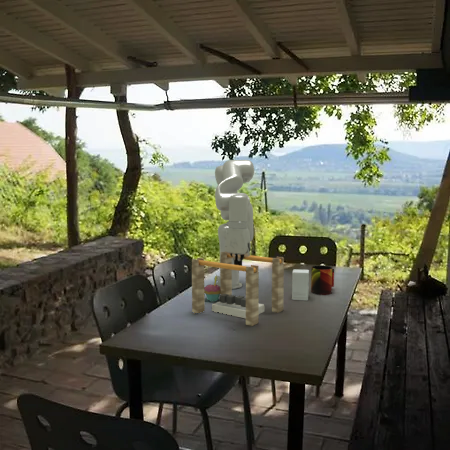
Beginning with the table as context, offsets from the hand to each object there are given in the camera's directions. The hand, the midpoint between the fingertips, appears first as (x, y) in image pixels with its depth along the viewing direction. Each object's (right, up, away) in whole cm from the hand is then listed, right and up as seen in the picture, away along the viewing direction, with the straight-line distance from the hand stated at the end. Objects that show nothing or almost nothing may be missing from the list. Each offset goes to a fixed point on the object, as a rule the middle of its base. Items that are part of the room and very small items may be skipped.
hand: (238, 269), depth 202 cm
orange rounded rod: (-6, +2, -9) cm, 11 cm away
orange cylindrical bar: (+6, +4, +8) cm, 10 cm away
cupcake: (-11, -16, +19) cm, 27 cm away
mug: (+41, -14, +34) cm, 55 cm away
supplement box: (+29, -15, +22) cm, 39 cm away
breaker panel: (0, -18, +2) cm, 18 cm away
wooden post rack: (0, -18, +2) cm, 18 cm away
